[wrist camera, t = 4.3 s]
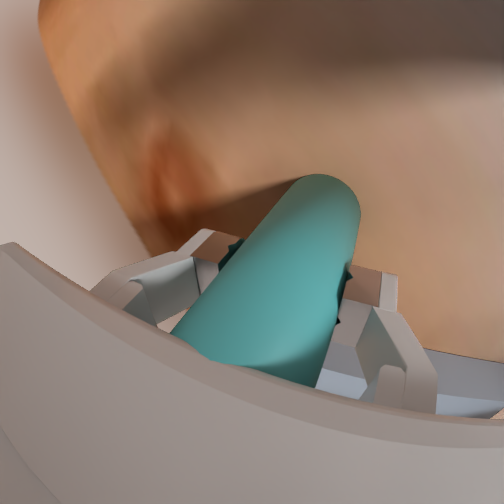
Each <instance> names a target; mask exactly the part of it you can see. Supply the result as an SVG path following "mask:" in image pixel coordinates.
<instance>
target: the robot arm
mask: <svg viewBox="0 0 504 504" xmlns="http://www.w3.org/2000/svg"><path fill="white" fill-rule="evenodd" d="M244 242H245V240H244V239H243V238H241V237H238V236H234V235H230V234H226V233H222V232H218V231H214V230H210V229H206V228H205V229H201V230H200V231H199V232H197V233H196V234H195V235H194V236H193V237H192V238H191V239H190V240H189V241H188V242H186V243H185V244H184V245H183V246H182V247H181V248H180V249H179V250H178V251H177V252H174V251H171V252H168V253H165V254H162V255H158V256H155V257H152V258H149V259H146V260H143V261H140V262H137V263H134V264H131V265H128V266H125V267H122V268H119V269H116V270H113V271H112V272H110V273H109V274H108V275H107V276H106V277H105V278H104V279H102V280H101V281H100V282H99V283H98V284H97V285H96V286H95V287H94V288H93V289H92V290H90V291H88V290H86V289H84V288H83V287H81V286H79V285H78V284H76V283H75V282H73V281H71V280H70V279H68V278H67V277H65V276H63V275H62V274H60V273H59V272H57V271H56V270H54V269H53V268H51V267H50V266H48V265H47V264H45V263H44V262H42V261H41V260H39V259H38V258H36V257H35V256H34V255H32V254H31V253H29V252H28V251H26V250H25V249H24V248H22V247H21V246H20V245H19V244H17V243H14V242H11V243H7V244H3V245H0V504H504V419H480V418H466V417H456V416H446V415H438V414H436V403H437V386H438V374H437V372H436V370H435V368H434V367H433V365H432V363H431V361H430V360H429V358H428V356H427V355H426V353H425V351H424V349H423V348H422V346H421V345H420V343H419V341H418V340H417V338H416V336H415V335H414V333H413V332H412V330H411V328H410V327H409V325H408V324H407V322H406V321H405V319H404V317H403V316H402V314H401V313H397V312H396V311H397V282H398V277H397V275H396V274H391V273H386V272H382V271H381V272H380V271H376V270H372V269H367V268H363V267H359V266H355V265H350V269H349V273H348V277H347V280H346V284H345V289H344V292H343V296H342V300H341V303H340V307H339V311H338V318H337V321H336V325H335V328H334V332H333V335H332V338H331V341H333V342H337V343H340V344H344V345H347V346H350V347H354V348H355V351H356V353H357V356H358V359H359V362H360V365H361V368H362V371H363V374H364V377H365V380H366V383H367V386H368V387H367V388H366V390H365V391H364V393H363V394H362V395H361V397H360V398H359V399H358V400H357V399H353V398H349V397H345V396H341V395H337V394H333V393H329V392H326V391H322V390H318V389H315V388H312V387H308V386H305V385H301V384H298V383H295V382H292V381H289V380H286V379H282V378H279V377H276V376H273V375H270V374H268V373H265V372H262V371H259V370H256V369H251V368H248V367H242V366H237V365H232V364H223V363H219V362H216V361H210V360H209V359H208V358H206V357H205V356H203V355H201V354H200V353H199V352H198V351H197V350H196V349H194V348H193V347H192V346H191V345H189V344H188V343H187V342H185V341H184V340H182V339H180V338H178V337H176V336H174V335H171V334H169V333H167V332H165V331H163V330H161V329H159V328H158V327H157V324H158V323H160V322H162V321H164V320H166V319H168V318H169V317H172V316H173V315H175V314H177V313H179V312H181V311H183V310H185V309H187V308H189V307H191V306H192V305H193V304H194V303H195V301H196V300H197V299H198V298H199V296H200V295H201V294H202V293H203V291H204V290H205V289H206V288H207V287H208V285H209V284H210V283H211V282H212V280H213V279H214V278H215V277H216V276H217V274H218V273H219V272H220V271H221V270H222V268H223V267H224V266H225V265H226V263H227V262H228V261H229V260H230V259H231V257H232V256H233V255H234V254H235V253H236V251H237V250H238V249H239V248H240V247H241V245H242V244H243V243H244Z"/></svg>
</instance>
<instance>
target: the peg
mask: <svg viewBox="0 0 504 504" xmlns="http://www.w3.org/2000/svg"><path fill="white" fill-rule="evenodd" d="M360 217H361V211H360V205H359V202H358V200H357V198H356V196H355V194H354V193H353V191H352V190H351V189H350V188H349V187H348V186H347V185H346V184H345V183H343V182H342V181H340V180H339V179H337V178H334V177H332V176H328V175H323V174H313V175H308V176H305V177H302V178H300V179H299V180H297V181H296V182H295V183H293V184H292V186H291V187H290V188H289V189H288V190H287V191H286V193H285V194H284V195H283V196H282V197H281V199H280V200H279V201H278V202H277V203H276V205H275V206H274V207H273V208H272V209H271V210H270V212H269V213H268V214H267V215H266V216H265V218H264V219H263V220H262V221H261V222H260V224H259V225H258V226H257V227H256V228H255V230H254V231H253V232H252V233H251V234H250V236H249V237H248V238H247V239H246V240H245V242H244V243H243V244H242V245H241V247H240V248H239V249H238V250H237V251H236V253H235V254H234V255H233V256H232V257H231V259H230V260H229V261H228V262H227V263H226V265H225V266H224V267H223V268H222V270H221V271H220V272H219V273H218V274H217V276H216V277H215V278H214V279H213V280H212V282H211V283H210V284H209V285H208V287H207V288H206V289H205V290H204V291H203V293H202V294H201V295H200V296H199V298H198V299H197V300H196V301H195V303H194V304H193V305H192V306H191V307H190V309H189V310H188V311H187V312H186V314H185V315H184V316H183V317H182V319H181V320H180V321H179V322H178V323H177V325H176V326H175V327H174V328H173V330H172V331H171V332H170V333H169V334H171V335H174V336H176V337H178V338H180V339H182V340H184V341H185V342H187V343H188V344H189V345H191V346H192V347H193V348H194V349H196V350H197V351H198V352H199V353H200V354H201V355H203V356H205V357H206V358H208V359H209V360H210V361H216V362H219V363H223V364H232V365H237V366H242V367H248V368H251V369H256V370H259V371H262V372H265V373H268V374H270V375H273V376H276V377H279V378H282V379H286V380H289V381H292V382H295V383H298V384H301V385H305V386H308V387H312V388H315V387H316V384H317V381H318V378H319V375H320V373H321V370H322V367H323V364H324V361H325V357H326V354H327V351H328V348H329V345H330V342H331V338H332V335H333V332H334V328H335V325H336V321H337V318H338V311H339V307H340V303H341V300H342V296H343V292H344V289H345V284H346V280H347V277H348V273H349V269H350V265H351V262H352V258H353V253H354V249H355V244H356V239H357V234H358V229H359V223H360Z"/></svg>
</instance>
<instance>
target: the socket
mask: <svg viewBox="0 0 504 504" xmlns="http://www.w3.org/2000/svg"><path fill="white" fill-rule="evenodd" d="M423 349H424V348H423ZM424 351H425V353H426V355H427V356H428V358H429V360H430V361H431V363H432V365H433V367H434V368H435V370H436V372H437V374H438V386H437V403H436V414H438V415H446V416H456V417H466V418H480V419H490V418H491V417H493V416H494V415H495V414H497V413H498V412H499V411H500V410H502V409H503V408H504V363H497V362H491V361H485V360H480V359H474V358H469V357H463V356H458V355H453V354H448V353H443V352H438V351H433V350H429V349H424ZM367 387H368V386H367V383H366V380H365V377H364V374H363V371H362V368H361V365H360V362H359V359H358V356H357V353H356V351H355V348H354V347H350V346H347V345H344V344H340V343H337V342H333V341H331V342H330V345H329V348H328V351H327V354H326V357H325V361H324V364H323V367H322V370H321V373H320V375H319V378H318V381H317V384H316V387H315V389H318V390H322V391H326V392H329V393H333V394H337V395H341V396H345V397H349V398H353V399H357V400H358V399H359V398H360V397H361V395H362V394H363V393H364V391H365V390H366V388H367Z"/></svg>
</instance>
